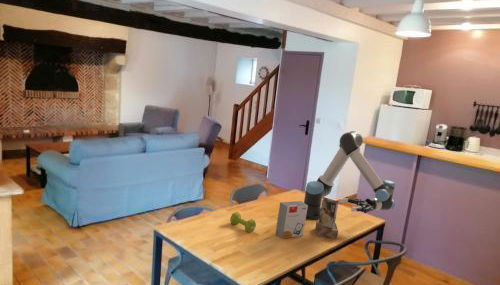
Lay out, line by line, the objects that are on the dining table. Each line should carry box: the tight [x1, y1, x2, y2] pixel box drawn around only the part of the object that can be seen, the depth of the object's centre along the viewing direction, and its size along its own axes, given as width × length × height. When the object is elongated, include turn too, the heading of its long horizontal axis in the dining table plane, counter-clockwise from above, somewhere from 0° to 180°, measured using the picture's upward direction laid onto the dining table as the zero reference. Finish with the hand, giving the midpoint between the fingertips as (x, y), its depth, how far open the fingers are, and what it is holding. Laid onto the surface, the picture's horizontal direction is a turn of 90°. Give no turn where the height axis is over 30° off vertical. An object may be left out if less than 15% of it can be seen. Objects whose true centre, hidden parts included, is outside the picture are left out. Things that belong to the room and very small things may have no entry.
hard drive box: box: [275, 200, 308, 239], centre depth 212 cm, size 16×8×20 cm, turn 117°
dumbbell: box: [230, 211, 257, 233], centre depth 215 cm, size 16×8×7 cm, turn 47°
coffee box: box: [318, 197, 339, 229], centre depth 218 cm, size 9×6×16 cm
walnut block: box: [314, 219, 339, 241], centre depth 220 cm, size 12×12×6 cm
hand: (345, 204), depth 222 cm, fingers open, 13 cm apart
